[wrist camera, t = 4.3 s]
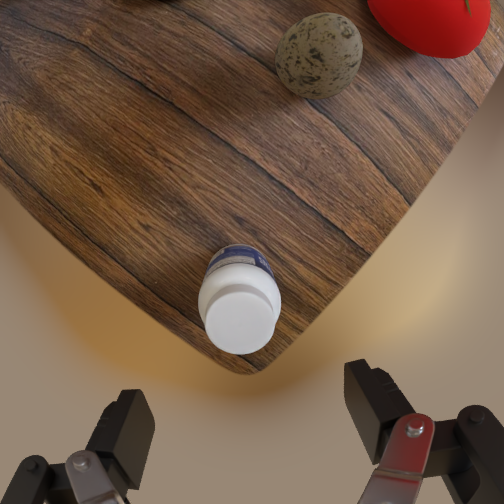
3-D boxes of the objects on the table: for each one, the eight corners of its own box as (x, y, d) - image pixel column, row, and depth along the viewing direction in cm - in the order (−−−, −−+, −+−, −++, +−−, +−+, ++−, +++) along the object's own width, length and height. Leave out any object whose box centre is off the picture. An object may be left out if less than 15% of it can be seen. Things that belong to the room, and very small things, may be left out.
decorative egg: (330, 44, 22) (372, -10, 13) (345, 104, 24) (400, 71, 14) (263, 48, 22) (278, -13, 13) (277, 111, 24) (301, 73, 14)
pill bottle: (274, 298, 27) (292, 357, 18) (213, 307, 27) (203, 369, 18) (266, 237, 26) (282, 272, 17) (202, 247, 26) (182, 286, 17)
